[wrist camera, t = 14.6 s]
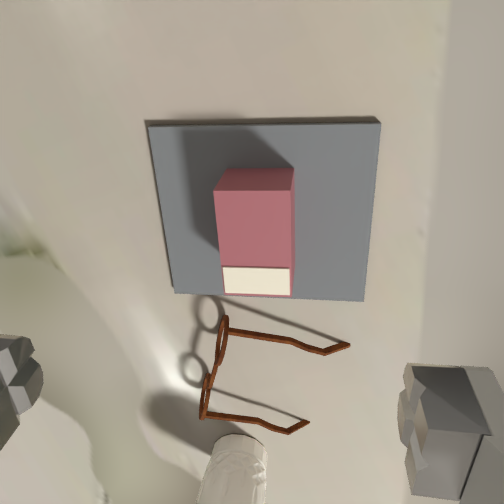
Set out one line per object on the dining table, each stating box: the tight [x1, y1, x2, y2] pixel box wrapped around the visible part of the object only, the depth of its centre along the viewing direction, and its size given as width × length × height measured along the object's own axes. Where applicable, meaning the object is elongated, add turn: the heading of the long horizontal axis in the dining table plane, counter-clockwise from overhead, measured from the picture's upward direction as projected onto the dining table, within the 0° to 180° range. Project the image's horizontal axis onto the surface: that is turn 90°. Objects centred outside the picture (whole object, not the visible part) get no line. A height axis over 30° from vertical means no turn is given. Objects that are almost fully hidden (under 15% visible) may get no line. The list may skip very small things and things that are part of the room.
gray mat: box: [148, 122, 381, 302], centre depth 37 cm, size 18×16×1 cm
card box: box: [213, 168, 295, 297], centre depth 34 cm, size 9×6×5 cm, turn 3°
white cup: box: [195, 434, 267, 504], centre depth 49 cm, size 8×8×10 cm
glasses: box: [199, 315, 350, 435], centre depth 44 cm, size 13×13×5 cm
